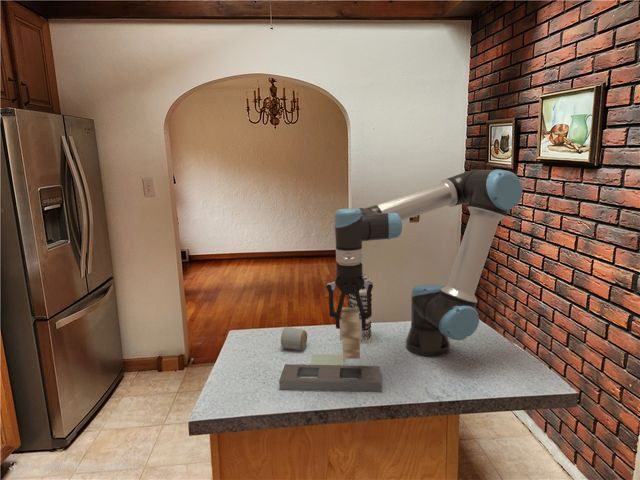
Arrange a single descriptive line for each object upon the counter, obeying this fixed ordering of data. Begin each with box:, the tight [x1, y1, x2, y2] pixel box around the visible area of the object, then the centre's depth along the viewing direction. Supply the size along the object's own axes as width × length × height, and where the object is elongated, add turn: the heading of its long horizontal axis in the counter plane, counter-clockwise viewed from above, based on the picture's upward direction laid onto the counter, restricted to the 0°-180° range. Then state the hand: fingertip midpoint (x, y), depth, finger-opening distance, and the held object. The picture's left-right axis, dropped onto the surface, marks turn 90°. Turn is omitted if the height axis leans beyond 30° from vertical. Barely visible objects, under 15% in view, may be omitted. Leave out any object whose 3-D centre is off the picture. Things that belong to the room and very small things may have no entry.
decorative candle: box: [347, 273, 373, 344], centre depth 155 cm, size 9×9×25 cm
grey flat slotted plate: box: [278, 363, 383, 393], centre depth 127 cm, size 30×10×3 cm, turn 85°
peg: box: [341, 307, 361, 360], centre depth 123 cm, size 5×5×14 cm
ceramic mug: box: [280, 326, 308, 351], centre depth 152 cm, size 11×8×8 cm
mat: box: [309, 353, 345, 365], centre depth 139 cm, size 11×11×1 cm
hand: (351, 338), depth 124 cm, fingers closed on peg, 5 cm apart
